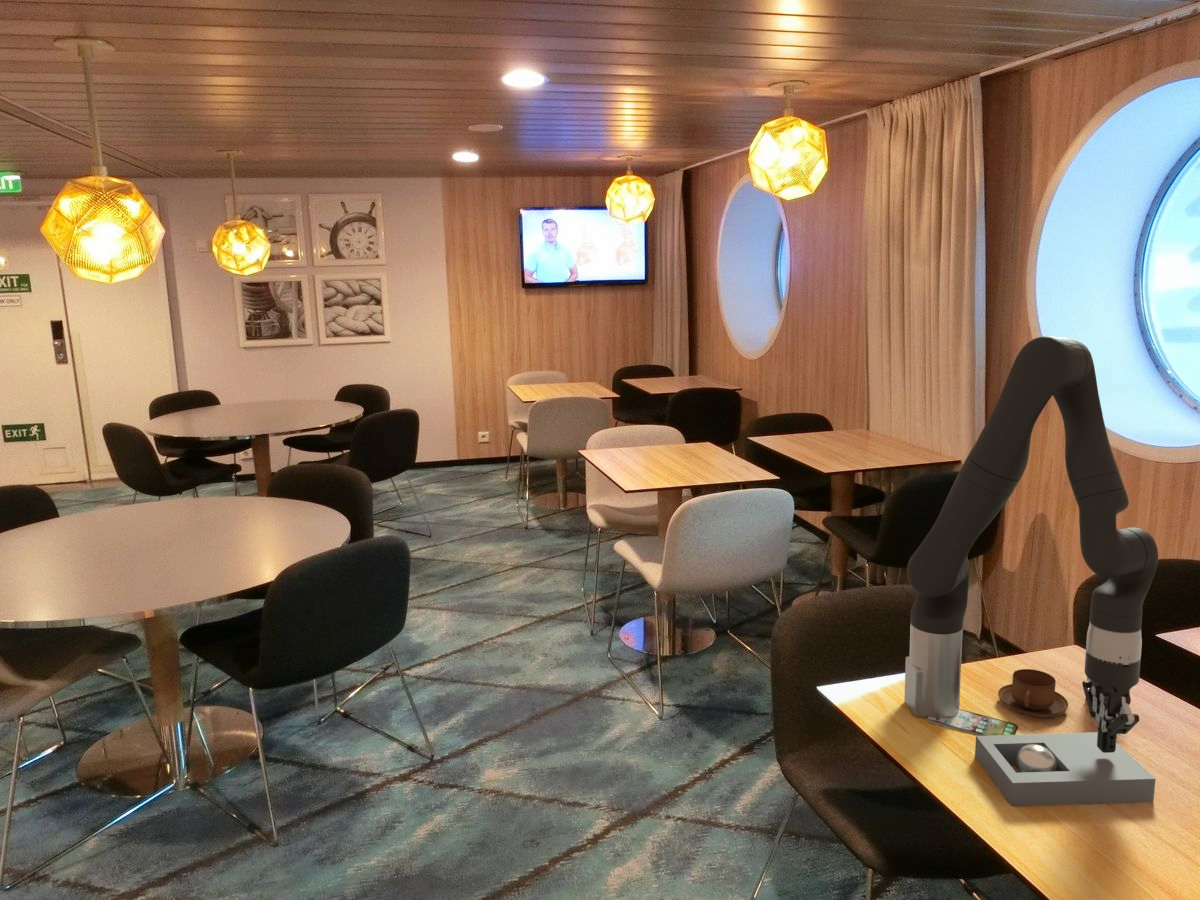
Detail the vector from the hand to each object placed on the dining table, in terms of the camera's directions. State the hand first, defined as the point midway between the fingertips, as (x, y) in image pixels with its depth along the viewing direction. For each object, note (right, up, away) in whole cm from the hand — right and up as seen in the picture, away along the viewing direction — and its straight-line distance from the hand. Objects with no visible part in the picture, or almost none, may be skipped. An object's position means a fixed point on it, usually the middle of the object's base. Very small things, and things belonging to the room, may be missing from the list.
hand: (1106, 750), depth 140 cm
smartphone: (-13, -3, +20) cm, 24 cm away
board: (-7, -5, +2) cm, 9 cm away
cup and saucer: (0, -1, +25) cm, 25 cm away
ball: (-11, -3, +1) cm, 11 cm away
